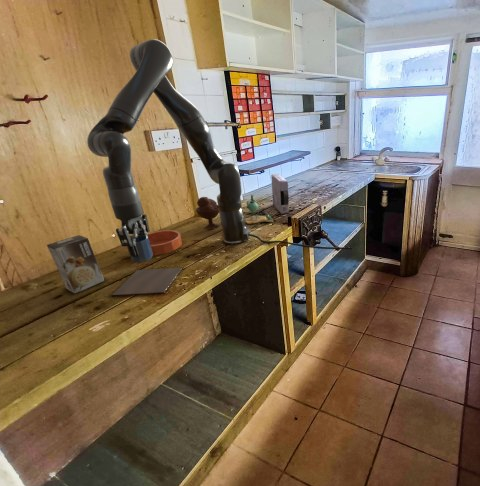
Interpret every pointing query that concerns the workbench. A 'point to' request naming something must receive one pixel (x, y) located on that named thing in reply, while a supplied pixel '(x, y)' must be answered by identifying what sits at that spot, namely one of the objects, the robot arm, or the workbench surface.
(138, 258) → the blue cup
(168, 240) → the terracotta bowl
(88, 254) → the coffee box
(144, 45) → the robot arm
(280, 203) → the cake pan box
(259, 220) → the frog figurine
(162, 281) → the walnut mat
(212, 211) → the ice cream bowl
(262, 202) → the workbench surface
